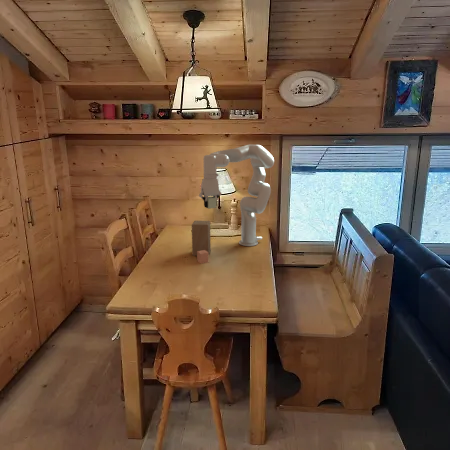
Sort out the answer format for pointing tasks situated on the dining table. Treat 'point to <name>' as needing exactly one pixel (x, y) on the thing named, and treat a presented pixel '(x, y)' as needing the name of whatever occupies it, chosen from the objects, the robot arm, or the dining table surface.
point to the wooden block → (200, 237)
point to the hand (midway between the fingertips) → (210, 206)
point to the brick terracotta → (202, 256)
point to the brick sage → (211, 202)
